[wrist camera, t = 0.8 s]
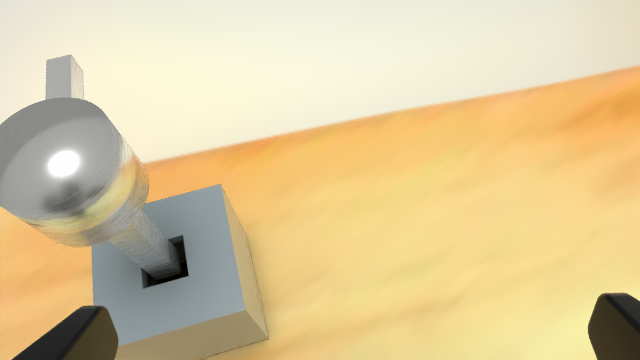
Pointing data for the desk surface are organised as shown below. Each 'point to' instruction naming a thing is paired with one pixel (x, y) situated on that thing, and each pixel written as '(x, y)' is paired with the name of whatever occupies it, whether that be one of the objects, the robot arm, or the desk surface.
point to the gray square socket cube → (184, 284)
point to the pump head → (79, 175)
